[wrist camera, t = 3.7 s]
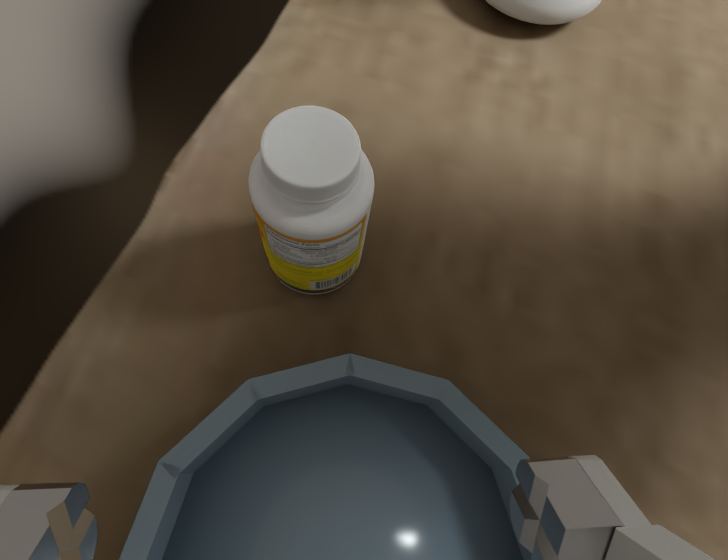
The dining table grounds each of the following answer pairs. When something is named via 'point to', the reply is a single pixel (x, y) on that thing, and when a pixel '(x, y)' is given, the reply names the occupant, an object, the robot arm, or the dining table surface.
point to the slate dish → (335, 473)
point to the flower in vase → (545, 10)
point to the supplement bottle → (311, 198)
